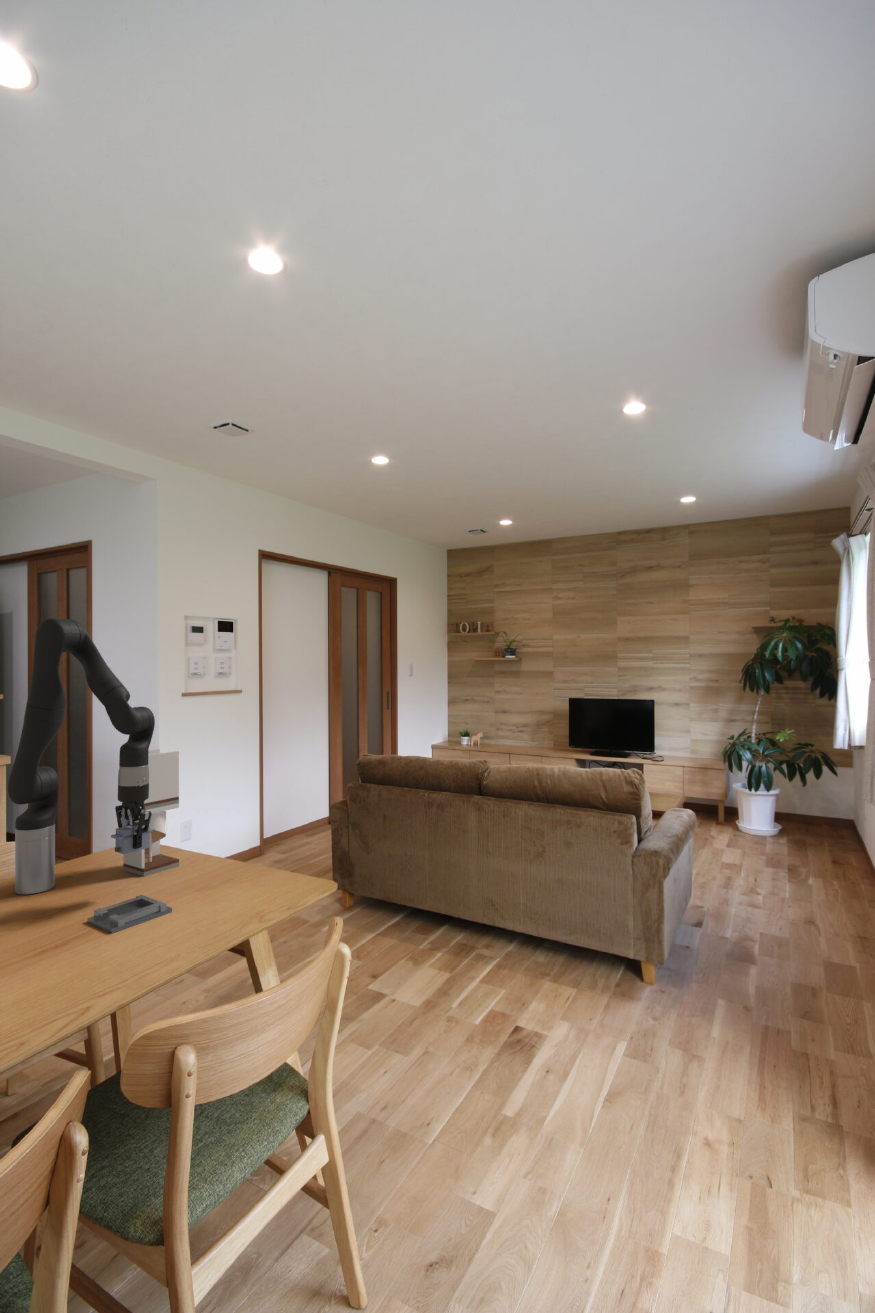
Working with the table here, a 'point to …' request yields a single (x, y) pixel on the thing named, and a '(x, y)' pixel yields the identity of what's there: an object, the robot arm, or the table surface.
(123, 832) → the servo
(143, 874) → the white alcove tower
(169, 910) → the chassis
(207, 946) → the table surface
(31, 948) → the table surface
